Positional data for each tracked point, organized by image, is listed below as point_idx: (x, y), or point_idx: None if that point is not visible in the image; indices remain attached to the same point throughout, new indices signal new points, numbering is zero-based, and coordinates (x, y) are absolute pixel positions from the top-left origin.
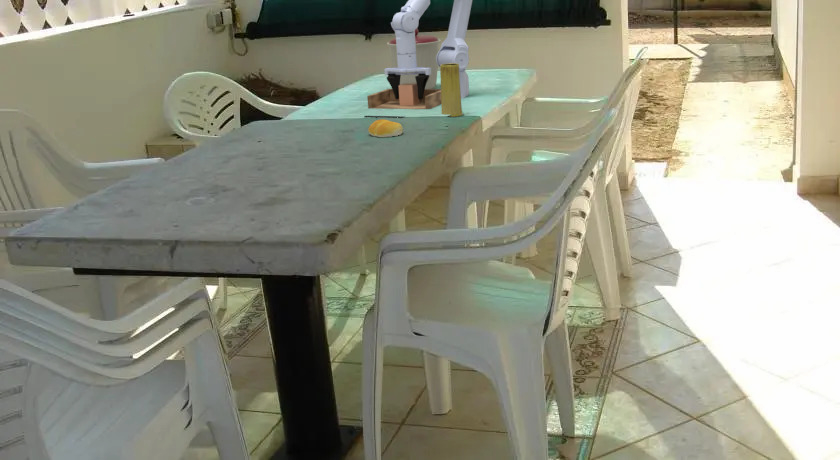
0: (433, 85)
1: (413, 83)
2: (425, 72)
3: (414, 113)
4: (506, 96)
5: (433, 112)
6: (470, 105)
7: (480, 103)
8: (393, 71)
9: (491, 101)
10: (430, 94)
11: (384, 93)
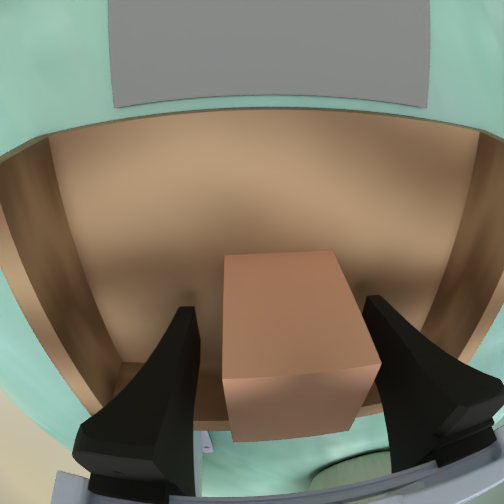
0: (310, 485)
1: (269, 435)
2: (81, 499)
3: (103, 53)
4: (53, 434)
5: (9, 130)
6: (7, 333)
7: (14, 364)
8: (467, 475)
9: (18, 388)
10: (20, 270)
11: (459, 336)
